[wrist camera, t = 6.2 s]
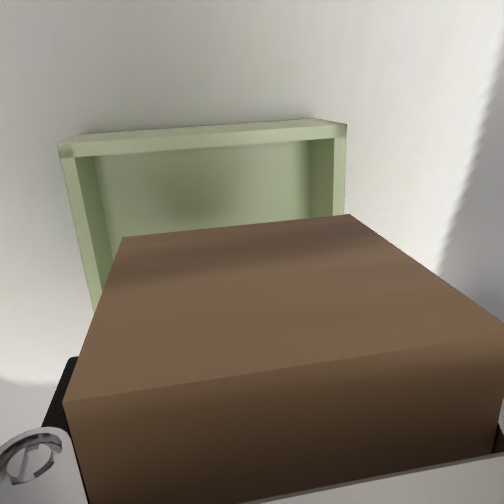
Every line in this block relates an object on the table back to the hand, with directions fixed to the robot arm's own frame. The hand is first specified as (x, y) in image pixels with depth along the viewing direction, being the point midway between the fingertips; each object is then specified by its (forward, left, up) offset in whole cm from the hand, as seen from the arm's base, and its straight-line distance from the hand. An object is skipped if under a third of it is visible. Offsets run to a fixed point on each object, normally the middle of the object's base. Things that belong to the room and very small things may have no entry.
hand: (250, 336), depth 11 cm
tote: (0, 0, -15) cm, 15 cm away
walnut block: (0, 0, -1) cm, 1 cm away
